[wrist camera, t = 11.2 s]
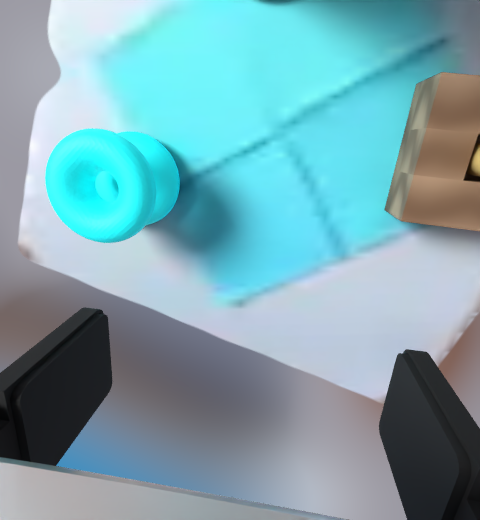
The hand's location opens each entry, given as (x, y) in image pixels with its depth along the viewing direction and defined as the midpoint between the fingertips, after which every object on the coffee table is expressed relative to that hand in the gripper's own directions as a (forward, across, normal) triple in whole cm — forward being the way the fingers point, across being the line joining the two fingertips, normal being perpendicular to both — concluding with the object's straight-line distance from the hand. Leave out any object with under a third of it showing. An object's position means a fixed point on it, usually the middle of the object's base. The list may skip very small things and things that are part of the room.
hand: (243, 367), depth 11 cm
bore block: (+28, -18, -7) cm, 34 cm away
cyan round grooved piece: (+28, +15, -2) cm, 32 cm away
